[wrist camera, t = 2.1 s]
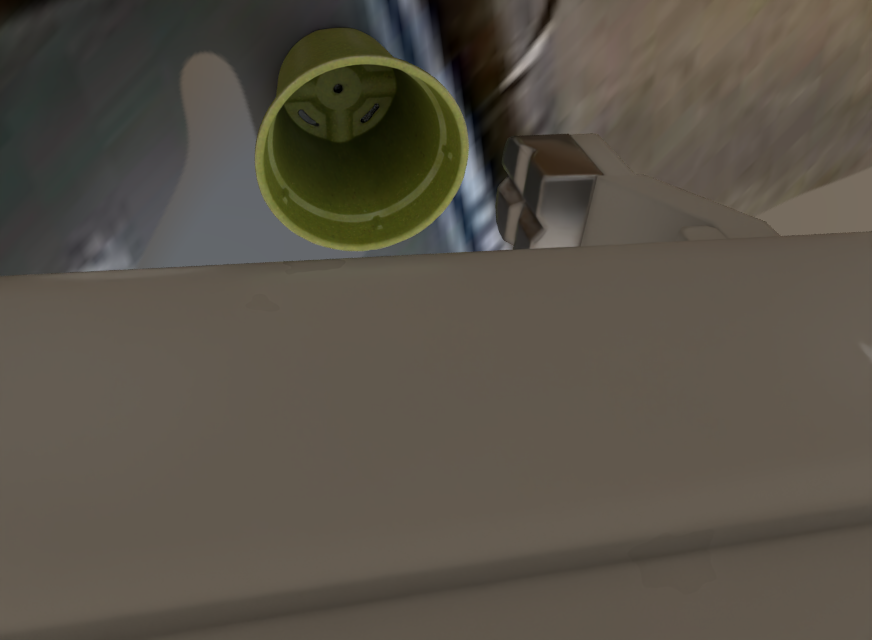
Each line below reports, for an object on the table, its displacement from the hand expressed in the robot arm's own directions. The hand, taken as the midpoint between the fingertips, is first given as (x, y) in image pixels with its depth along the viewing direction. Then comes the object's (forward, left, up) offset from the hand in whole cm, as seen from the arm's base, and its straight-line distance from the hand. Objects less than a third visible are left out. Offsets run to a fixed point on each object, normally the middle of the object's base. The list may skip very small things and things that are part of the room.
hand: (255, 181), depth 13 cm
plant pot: (+6, +10, -29) cm, 31 cm away
